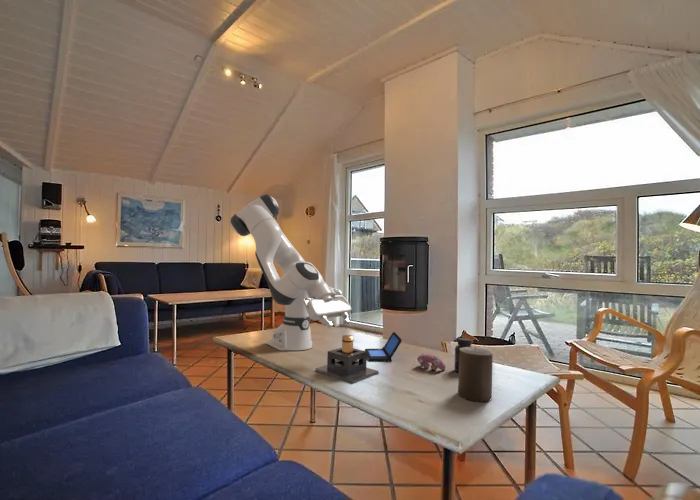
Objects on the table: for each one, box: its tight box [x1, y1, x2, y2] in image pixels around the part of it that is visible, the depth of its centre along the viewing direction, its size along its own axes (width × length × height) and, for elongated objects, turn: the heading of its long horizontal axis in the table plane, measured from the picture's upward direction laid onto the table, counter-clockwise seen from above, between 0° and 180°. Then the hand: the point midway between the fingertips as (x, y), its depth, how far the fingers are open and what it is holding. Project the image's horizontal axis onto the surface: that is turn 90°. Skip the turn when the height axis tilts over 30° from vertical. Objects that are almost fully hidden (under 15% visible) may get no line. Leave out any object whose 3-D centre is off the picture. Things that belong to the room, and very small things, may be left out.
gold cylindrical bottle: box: [341, 334, 354, 365], centre depth 124 cm, size 4×4×12 cm
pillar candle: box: [457, 346, 494, 403], centre depth 105 cm, size 10×10×15 cm
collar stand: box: [315, 347, 379, 385], centre depth 124 cm, size 18×14×8 cm
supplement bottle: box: [453, 337, 472, 374], centre depth 128 cm, size 7×7×12 cm
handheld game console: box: [364, 331, 402, 363], centre depth 146 cm, size 16×13×9 cm
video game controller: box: [417, 353, 446, 371], centre depth 130 cm, size 10×5×7 cm, turn 49°
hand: (339, 325), depth 128 cm, fingers open, 8 cm apart
